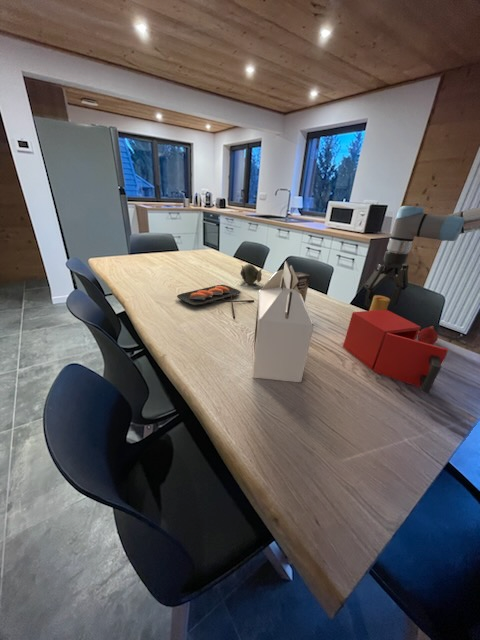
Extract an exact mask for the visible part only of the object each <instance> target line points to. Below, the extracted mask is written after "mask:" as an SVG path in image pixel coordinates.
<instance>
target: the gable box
mask: <svg viewBox="0 0 480 640" xmlns="http://www.w3.org/2000/svg"><path fill="white" fill-rule="evenodd" d="M298 283H299V280H298V278H297V276H296V274H295V270H294V267H293V265H292V264H290V265H289V263H288V261H287V260H285V261H284V265H283V268H281V269H278V270H276V272H275V273H274V274H273V275H272V276H271V278H269V279H268V281H267V282H266V283H265V284H264V285H263V286H262V287H261V289H259V290H258V296H257V297H258V298H257V306H256V315H255V324H254V332H253V333H254V334H253V348H252V349H253V350H252V371H251V372H252V373H251V376H252V378H253V379H254V378H255V379H266V380H273V381H283V382H293V383H301V382H302V381H303V376H304V371H305V367H306V362H307V358H308V353H309V349H310V345H311V339H312V336H313V330H314V327H315V324H314V322H313V320H312V317H311V315H310V312H309V310H308V307H307V304H306V301H305V302H304V300H303V298H302V295H301V294H300V292H299V290H298V288H297V284H298Z"/></svg>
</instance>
